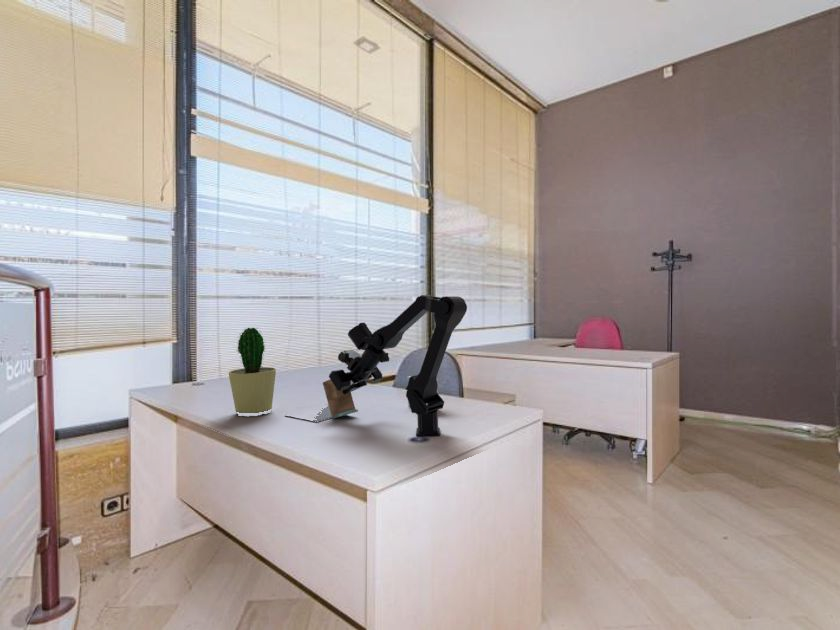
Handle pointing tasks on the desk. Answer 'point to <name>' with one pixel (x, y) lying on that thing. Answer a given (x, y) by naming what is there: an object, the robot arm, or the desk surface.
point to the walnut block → (338, 400)
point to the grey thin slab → (324, 414)
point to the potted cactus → (252, 376)
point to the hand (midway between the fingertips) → (344, 393)
